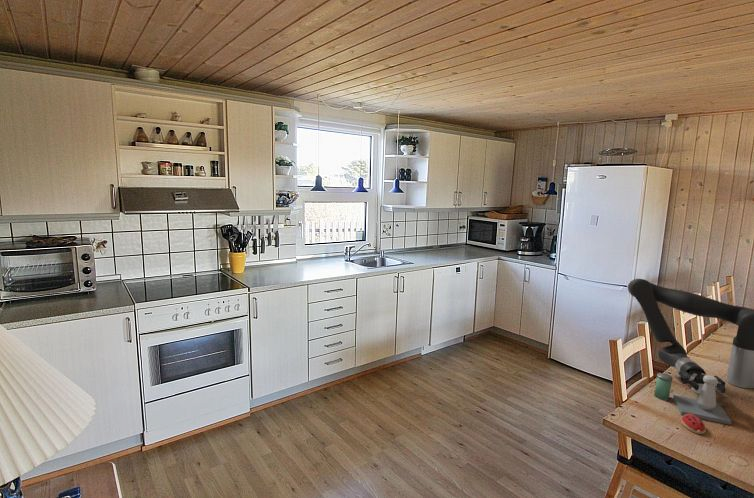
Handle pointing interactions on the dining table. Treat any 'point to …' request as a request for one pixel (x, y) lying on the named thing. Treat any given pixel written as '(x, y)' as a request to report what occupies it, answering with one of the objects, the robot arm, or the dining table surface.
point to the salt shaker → (708, 393)
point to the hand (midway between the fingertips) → (710, 389)
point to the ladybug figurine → (693, 423)
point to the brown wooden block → (722, 398)
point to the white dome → (698, 389)
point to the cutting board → (701, 410)
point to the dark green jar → (663, 386)
